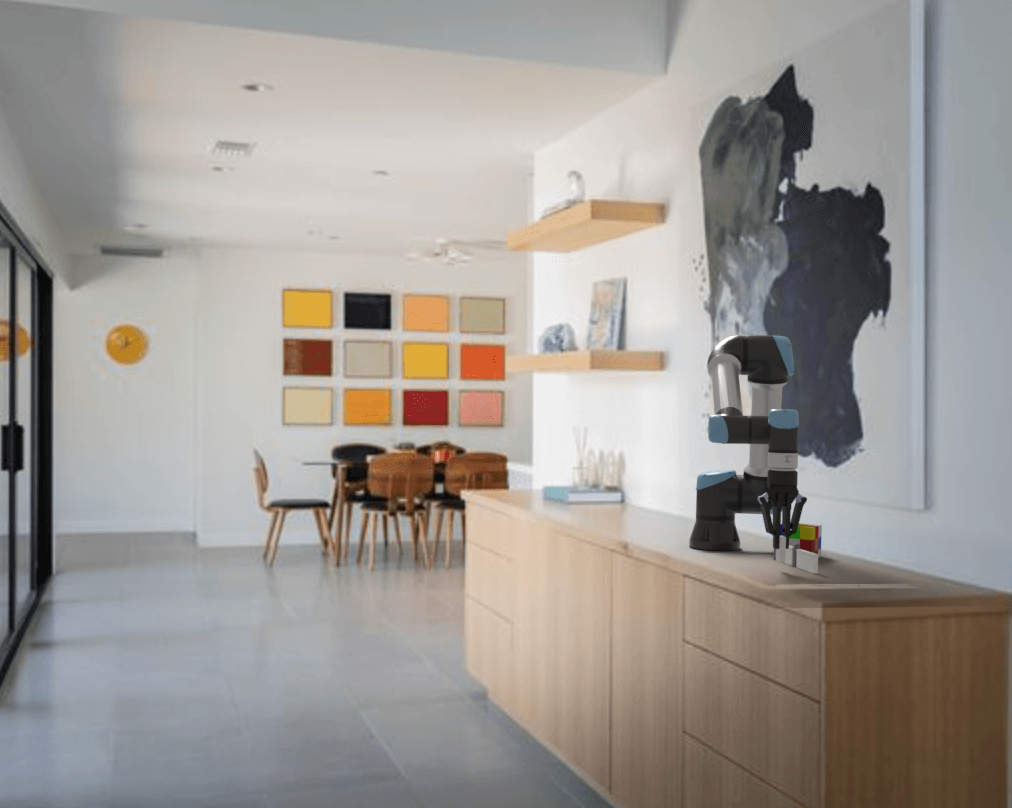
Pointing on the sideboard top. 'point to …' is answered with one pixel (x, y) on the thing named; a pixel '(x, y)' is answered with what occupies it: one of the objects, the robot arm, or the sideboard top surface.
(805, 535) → the toy
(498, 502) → the sideboard top surface
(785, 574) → the sideboard top surface
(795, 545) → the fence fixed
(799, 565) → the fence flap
